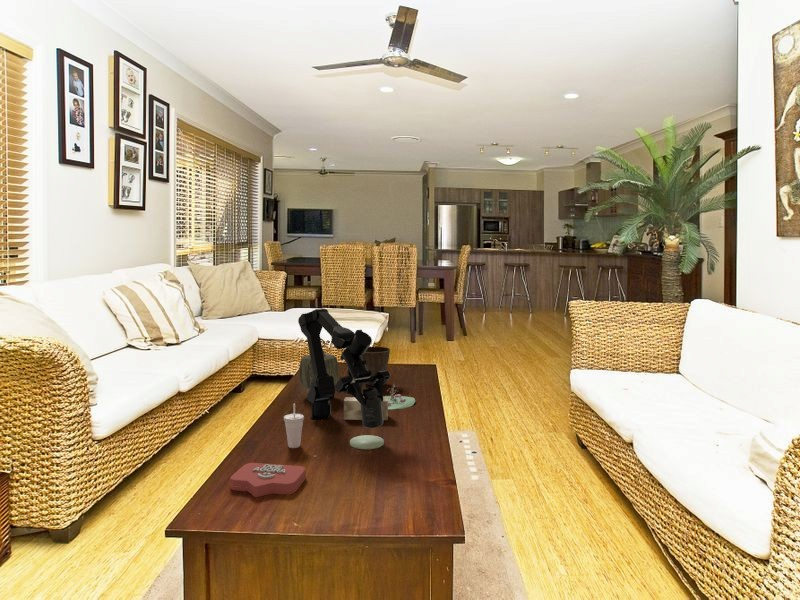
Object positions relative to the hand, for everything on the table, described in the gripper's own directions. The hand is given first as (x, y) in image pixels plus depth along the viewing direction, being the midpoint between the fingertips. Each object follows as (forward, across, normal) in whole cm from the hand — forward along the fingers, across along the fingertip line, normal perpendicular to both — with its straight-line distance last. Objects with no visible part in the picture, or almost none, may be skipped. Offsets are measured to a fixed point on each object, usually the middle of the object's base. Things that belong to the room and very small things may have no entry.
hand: (373, 403), depth 185 cm
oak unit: (-7, -13, -26) cm, 30 cm away
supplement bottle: (+5, -1, -6) cm, 8 cm away
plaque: (+17, +41, -3) cm, 44 cm away
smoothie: (+1, +22, -18) cm, 29 cm away
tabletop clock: (-32, -12, -52) cm, 62 cm away
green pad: (+9, +2, -10) cm, 13 cm away
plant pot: (-36, -44, -56) cm, 79 cm away
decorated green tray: (-16, -30, -36) cm, 50 cm away
